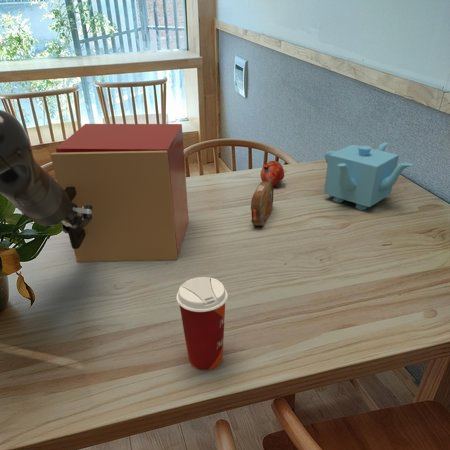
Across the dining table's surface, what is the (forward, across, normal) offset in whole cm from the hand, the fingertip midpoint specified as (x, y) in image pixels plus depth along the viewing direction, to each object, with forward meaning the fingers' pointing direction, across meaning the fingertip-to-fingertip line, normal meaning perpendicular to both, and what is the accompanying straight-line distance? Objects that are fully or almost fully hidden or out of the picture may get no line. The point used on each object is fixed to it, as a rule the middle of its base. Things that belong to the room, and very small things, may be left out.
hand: (73, 228), depth 91 cm
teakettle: (+31, -69, -16) cm, 77 cm away
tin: (+24, -41, -9) cm, 48 cm away
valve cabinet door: (+8, -9, +6) cm, 14 cm away
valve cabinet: (+18, -10, -3) cm, 21 cm away
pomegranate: (+40, -46, -25) cm, 66 cm away
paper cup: (-13, -27, +27) cm, 40 cm away
